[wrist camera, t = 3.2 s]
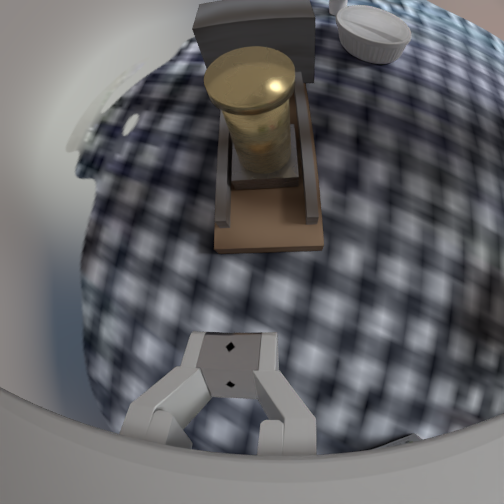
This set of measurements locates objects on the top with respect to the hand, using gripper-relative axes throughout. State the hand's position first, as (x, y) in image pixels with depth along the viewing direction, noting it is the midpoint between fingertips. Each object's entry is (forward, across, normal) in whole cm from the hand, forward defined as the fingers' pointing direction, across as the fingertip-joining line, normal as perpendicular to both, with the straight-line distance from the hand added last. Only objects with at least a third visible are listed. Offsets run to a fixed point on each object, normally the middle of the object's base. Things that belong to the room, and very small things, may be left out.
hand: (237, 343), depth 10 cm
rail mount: (+27, 0, -2) cm, 27 cm away
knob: (+22, 0, -1) cm, 22 cm away
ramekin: (+40, -16, -15) cm, 45 cm away
